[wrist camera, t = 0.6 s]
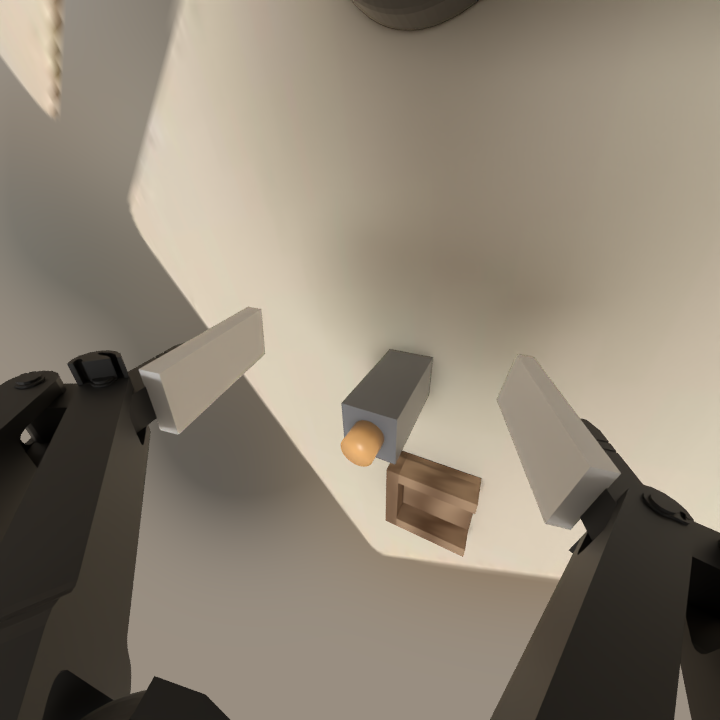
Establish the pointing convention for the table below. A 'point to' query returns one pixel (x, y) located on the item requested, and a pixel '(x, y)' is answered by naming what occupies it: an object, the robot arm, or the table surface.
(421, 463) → the holder
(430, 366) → the connector plug
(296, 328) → the table surface
